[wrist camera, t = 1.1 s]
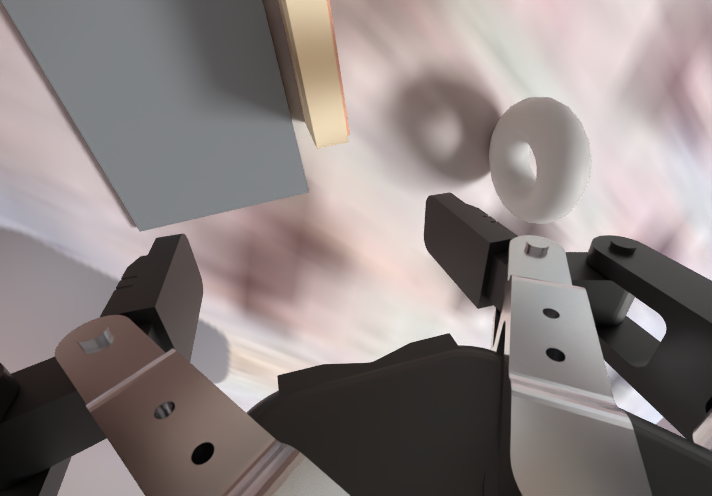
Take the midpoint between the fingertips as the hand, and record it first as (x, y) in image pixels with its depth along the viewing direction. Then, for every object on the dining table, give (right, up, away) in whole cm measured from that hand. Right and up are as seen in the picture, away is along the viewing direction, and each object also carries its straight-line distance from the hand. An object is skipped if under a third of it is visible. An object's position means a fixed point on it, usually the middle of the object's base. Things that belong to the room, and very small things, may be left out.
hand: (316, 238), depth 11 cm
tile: (-2, +13, +13) cm, 19 cm away
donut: (+14, +9, +20) cm, 27 cm away
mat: (-11, +10, +12) cm, 19 cm away
